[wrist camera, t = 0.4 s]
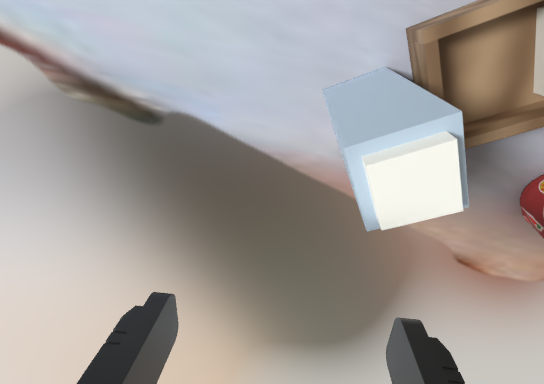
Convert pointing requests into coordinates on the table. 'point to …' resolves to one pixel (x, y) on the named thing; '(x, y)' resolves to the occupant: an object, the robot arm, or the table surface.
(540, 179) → the smoothie
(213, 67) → the table surface
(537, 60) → the off-white rectangular block
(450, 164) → the carton
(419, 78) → the crate
